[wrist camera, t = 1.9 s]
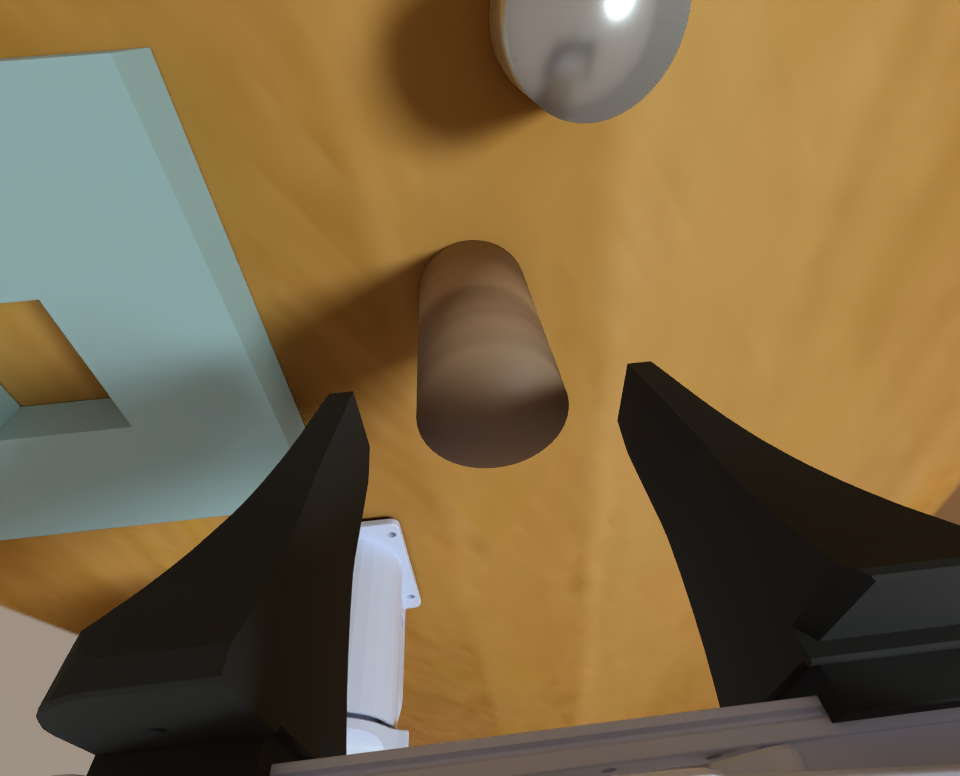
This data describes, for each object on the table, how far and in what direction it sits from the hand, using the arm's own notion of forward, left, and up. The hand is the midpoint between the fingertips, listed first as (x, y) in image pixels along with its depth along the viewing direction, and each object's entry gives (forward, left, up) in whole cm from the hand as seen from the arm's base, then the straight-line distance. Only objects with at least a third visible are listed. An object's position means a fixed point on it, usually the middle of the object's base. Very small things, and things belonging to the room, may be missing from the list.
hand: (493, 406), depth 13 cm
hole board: (-1, +16, -7) cm, 17 cm away
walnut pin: (0, 0, -7) cm, 7 cm away
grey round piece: (+8, -3, -7) cm, 11 cm away
